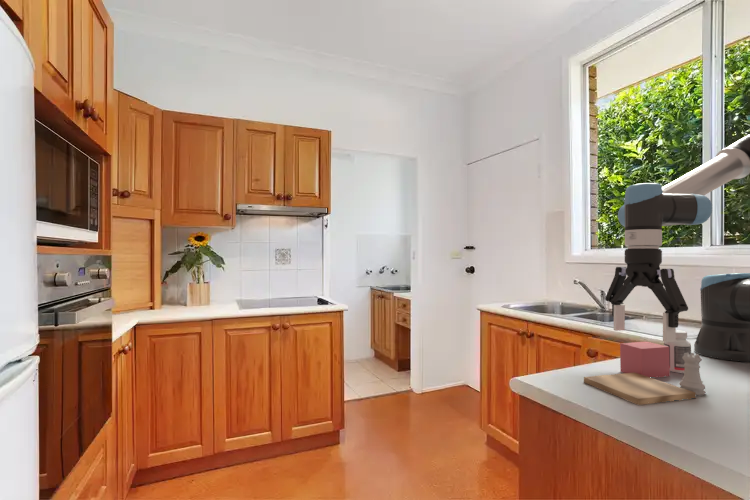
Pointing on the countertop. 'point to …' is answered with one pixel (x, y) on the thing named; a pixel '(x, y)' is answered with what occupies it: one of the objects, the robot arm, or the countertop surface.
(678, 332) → the pill bottle
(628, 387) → the base plate
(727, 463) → the countertop surface
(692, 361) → the rook chess piece
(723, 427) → the countertop surface
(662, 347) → the brick
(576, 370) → the countertop surface
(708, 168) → the robot arm
